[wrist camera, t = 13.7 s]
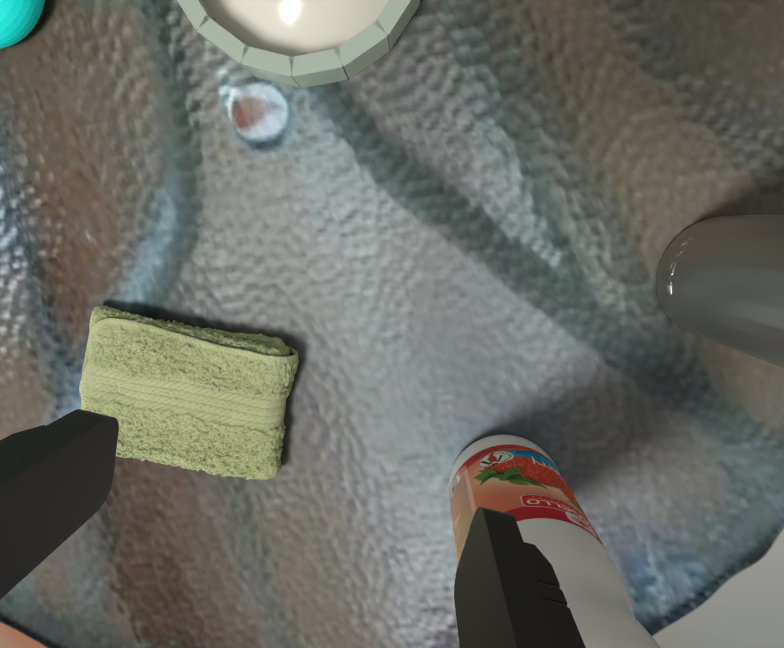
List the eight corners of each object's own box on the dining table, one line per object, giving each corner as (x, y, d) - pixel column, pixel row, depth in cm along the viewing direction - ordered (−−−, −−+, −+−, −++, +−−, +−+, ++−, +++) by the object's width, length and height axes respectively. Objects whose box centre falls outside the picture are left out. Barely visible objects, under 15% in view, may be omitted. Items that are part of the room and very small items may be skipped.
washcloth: (98, 298, 39) (71, 304, 36) (305, 338, 39) (295, 348, 36) (90, 440, 42) (64, 457, 39) (283, 477, 42) (273, 498, 39)
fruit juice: (424, 485, 41) (450, 1010, 14) (498, 409, 39) (700, 836, 12) (503, 548, 42) (677, 1158, 14) (579, 477, 40) (938, 1017, 13)
